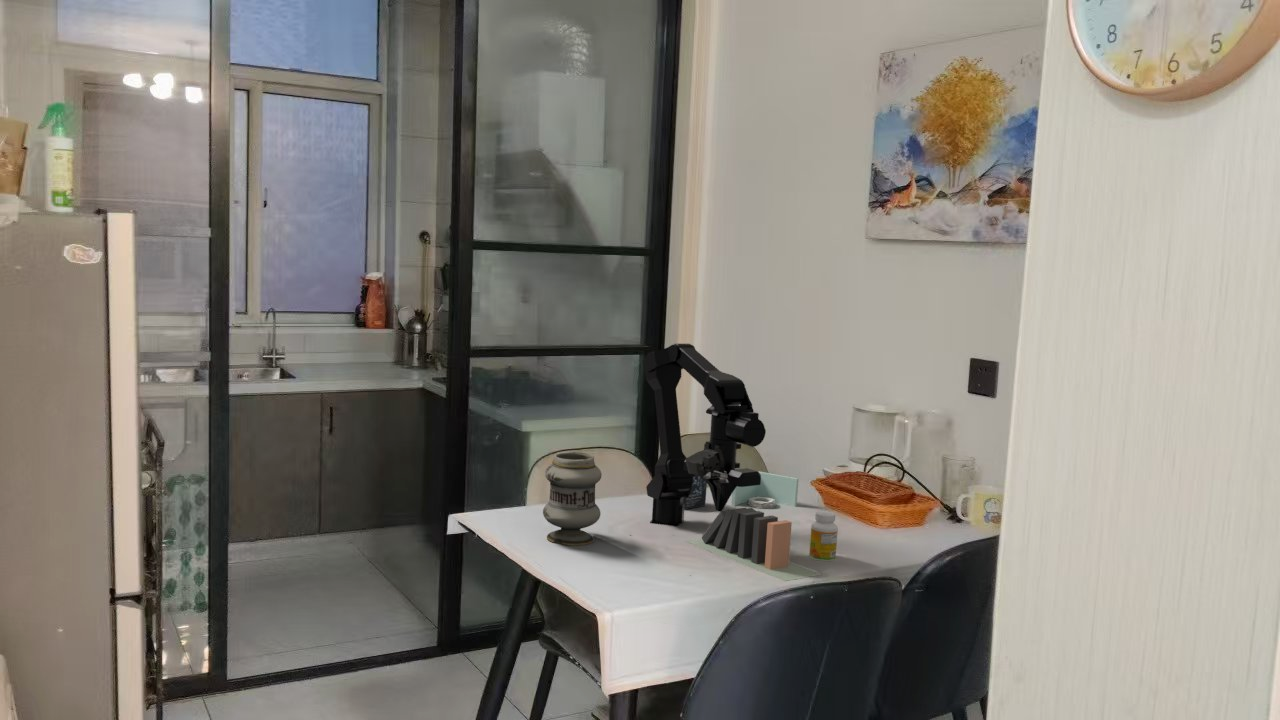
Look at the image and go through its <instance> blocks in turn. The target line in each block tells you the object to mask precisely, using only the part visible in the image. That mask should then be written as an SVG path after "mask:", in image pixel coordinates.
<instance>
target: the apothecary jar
mask: <svg viewBox="0 0 1280 720" xmlns="http://www.w3.org/2000/svg"><path fill="white" fill-rule="evenodd" d="M544 476H545V478H546V480H547V481H548V482H549V483H550V485H549V488H550V489H549V499H548V502H547V503H545V505H544V507H543V509H542V515H543V517H544V519H545V520H546V521H547V522H548V523H549V524H551V525H553V526H555V527H558V528H560V529H557V530H553V531H551V532H549V533H548V534H547V535H546V539H547V540H548V541H549V542H551V543H554V544H561V545H563V546H585V545H589V544H591V543H593V542H594V539H595V538H594V537H593V536H592V535H591V534H590V533H588V532H587V531H584V530H583V529H585V528H588V527H590V526H593V525H595V524H596V523H597V522H598V521H599V519H600V518H601V513H602V512H601V509H600V507H599V506H598V505H597V504H596V485H597V484H598V482H600V481H601V479H602V471H601V469H600V468H599V467H598V466H597V465H596V463H595V456H594V454H591V453H587V452H583V451H581V452H580V451H563V452H557V453H556V454H554V455H553V460H552V462H551V464H549V465H548V466H547V467H546V468H545V472H544ZM581 529H582V530H581Z"/></svg>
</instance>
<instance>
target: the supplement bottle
mask: <svg viewBox="0 0 1280 720" xmlns="http://www.w3.org/2000/svg"><path fill="white" fill-rule="evenodd" d="M835 522H836V513H834V512H832V511H826V510H825V511H823V510H820V511H819V510H818V511H816V512H815V521H814V522H812V524H811V527H810V540H809V541H810V542H809V553H808V556H809V558H811V559H813V560H817V561H824V562H825V561H826V562H828V561H835V560H836V555H837V542H838V531H839V530H838V525H837V524H836V523H835Z"/></svg>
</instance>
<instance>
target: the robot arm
mask: <svg viewBox="0 0 1280 720" xmlns="http://www.w3.org/2000/svg"><path fill="white" fill-rule="evenodd" d="M642 364H643V365H642V366H643V370H644V374H645V380H646V382H647V383H648V384H649V386H650V387H651V389H652V390H653V392H654V401H655V411H656V421H657V432H658V441H659V450H660V453H659V457H658V459H657V460H656V464H655V466H654V476H653V477H652V478H651V480H650V481H649V482H648V484H647V485H646V494H647V496H648V497H650V498H652V499H653V500H652V511H651V512H652V515H651V520H650V521H649V524H655V525H661V526H670V527H679V526H680V525H681V524H683V522H684V521H685V510H684V508H685V504H684V503H682V501H683V497H689V495H690V492H691V488H692V485H693V481H694V474H695V475H697V476H699V477H701V479H703V480H704V481H705V482H706V483H707V485H708V487H709V490H710V493H711V497H712V500H713V504H714V508H715V511H716V512H721V511H724V508H725V506H726V505H727V503H728V501H729V499H730V497H732V493H733V491H734V490H735V488H736V487H737V486H738V487H746V486H755V485H760V484H761V475H760V473H759V472H760V471H759V470H754V469H752V468H749V467H747V468H741V467H740V466H741V463H740V462H737V452H738V451H737V450H741V449H742V445H744V446H749V447H752V448H755V447H758V446H759V445H760V444H761V443H762V442H763V441H764V439H765V437H766V428H765V424H764V423H763V421H762V420H761V419H759V415H760V414H759V413H758V412H756V411H754V409H753V403H752V402H751V399H750V398H749V395H748V391H747V388H746V384H745V383H744V381H743V380H742V379H740V378H738V377H736V376H735V375H733V374H729V373H726V372H723V371H720V370H719V369H718V368H717V367H716V366H715V365H713V364H712V363H711V362H710V361H709V359H707V358H705V357H704V356H703V355H702V354H701V353H700V351H697V350H696V347H695V346H694V345H693V344H691V343H673V344H671V345H669V346H668V347H664V348H662V349H659V350H655V351H649V352H648V353H647V354H646V356H645V357H644V358H643V363H642ZM683 370H684V371H686V372H687V373H688V374H689V376H691V377H692V378H693V379H694V380H695V381H696V382H698V383H699V384H700V385H701V386H702V388H703V395H704V396H705V398H706V399H707V400H708V402H709V403H710V404H711V406H710V407H709V408H707V409H706V411H705V413H706V414H707V415H711V416H710V417H711V418H710V419H711V420H710V433H709V441H708V440H707V441H705V443H704V447H703V449H702V450H699V451H697V452H695V453H694V454H692V455H690V456H686V455H685V453H684V452H683V447H682V437H681V434H682V433H681V427H680V416H679V408H678V407H679V406H678V397H677V387H678V385H679V382H680V381H681V378H682V371H683ZM758 471H759V472H758Z"/></svg>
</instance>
